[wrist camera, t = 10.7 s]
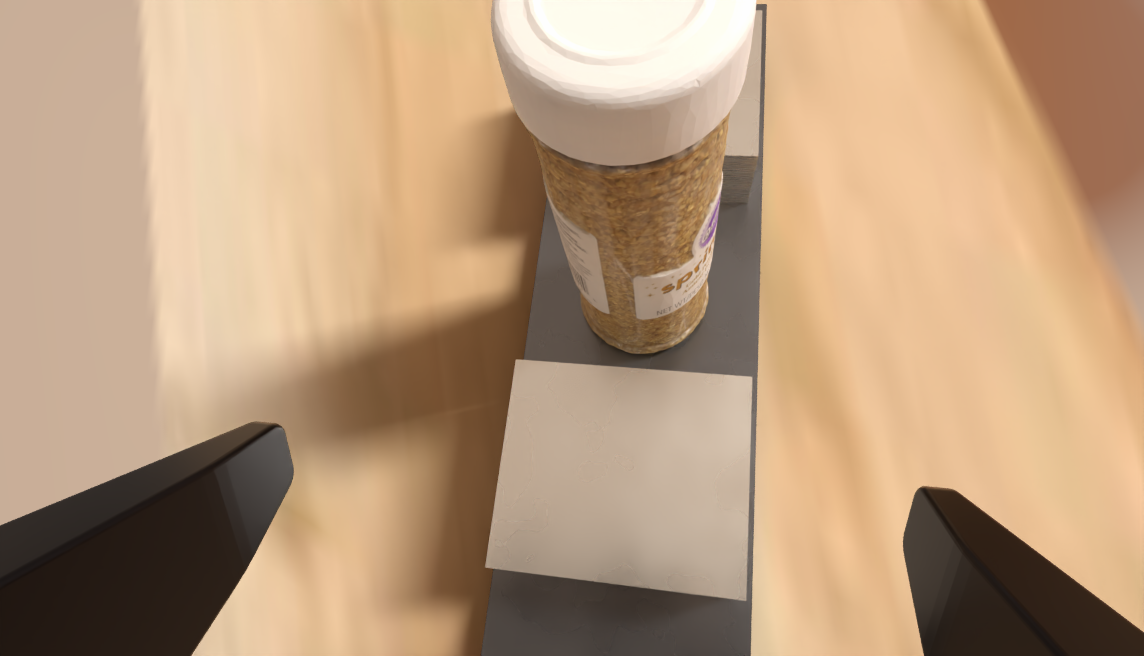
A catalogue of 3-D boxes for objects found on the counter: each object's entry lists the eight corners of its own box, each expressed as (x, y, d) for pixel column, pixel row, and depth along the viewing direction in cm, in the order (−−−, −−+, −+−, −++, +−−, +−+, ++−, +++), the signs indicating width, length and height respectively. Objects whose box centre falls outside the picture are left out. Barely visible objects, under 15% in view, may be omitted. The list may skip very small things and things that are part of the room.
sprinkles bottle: (707, 358, 22) (763, 96, 10) (575, 354, 23) (468, 103, 10) (708, 237, 24) (757, -125, 11) (583, 237, 25) (499, -106, 12)
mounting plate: (744, 713, 20) (763, 750, 16) (487, 673, 21) (446, 698, 17) (762, 26, 28) (778, -61, 24) (577, 28, 29) (564, -55, 25)
